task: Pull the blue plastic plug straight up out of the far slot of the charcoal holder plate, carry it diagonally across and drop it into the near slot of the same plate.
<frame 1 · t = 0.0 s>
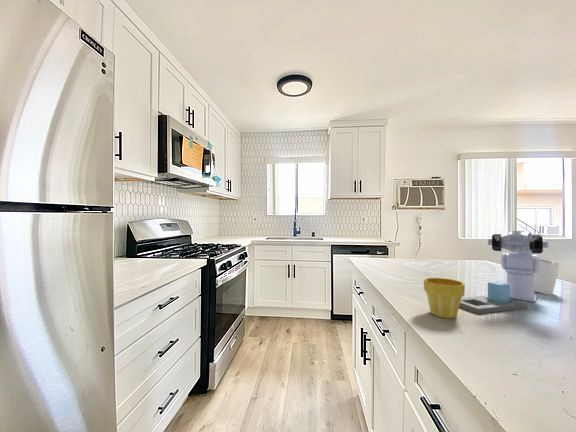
hand: (513, 244, 79), 20 cm above the counter, tool horizontal, fingers open, 7 cm apart
plant pot: (444, 314, 77), on the counter
holder plate: (487, 305, 84), on the counter
plug: (498, 304, 85), resting in holder plate
can: (540, 292, 100), on the counter, touching arm
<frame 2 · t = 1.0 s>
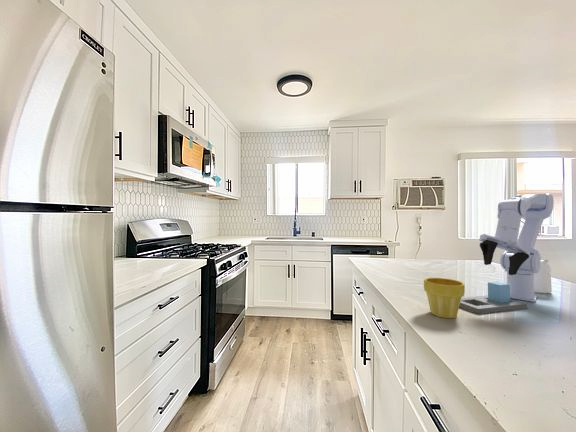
hand: (499, 269, 83), 12 cm above the counter, tool tilted 30°, fingers open, 7 cm apart
can: (539, 292, 100), on the counter
everything else where it was.
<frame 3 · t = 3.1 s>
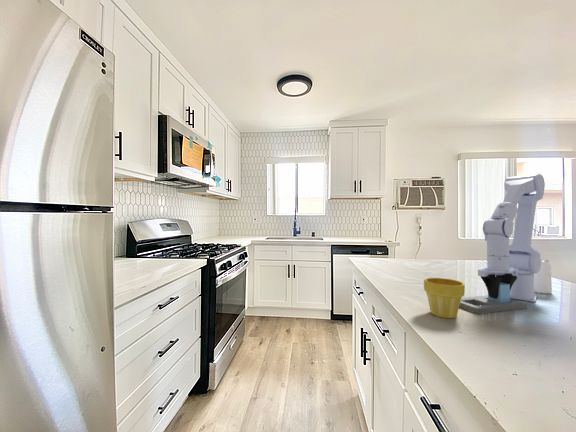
hand: (498, 297, 85), 2 cm above the counter, tool pointing down, fingers closed on plug, 4 cm apart
plug: (498, 304, 85), resting in holder plate, touching gripper
everything else where it was.
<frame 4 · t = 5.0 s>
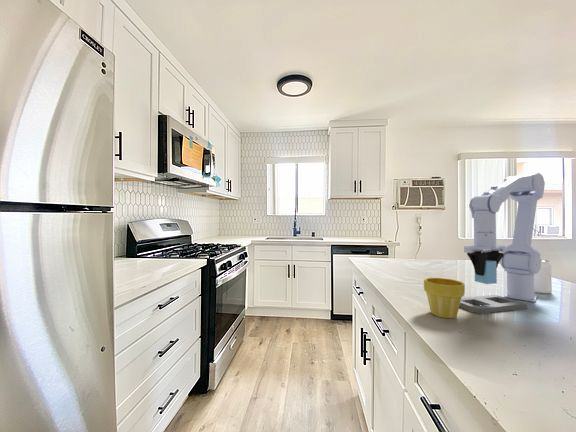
hand: (485, 274, 84), 10 cm above the counter, tool pointing down, fingers closed on plug, 4 cm apart
plug: (485, 282, 84), point 8 cm above the counter, touching gripper
everything else where it was.
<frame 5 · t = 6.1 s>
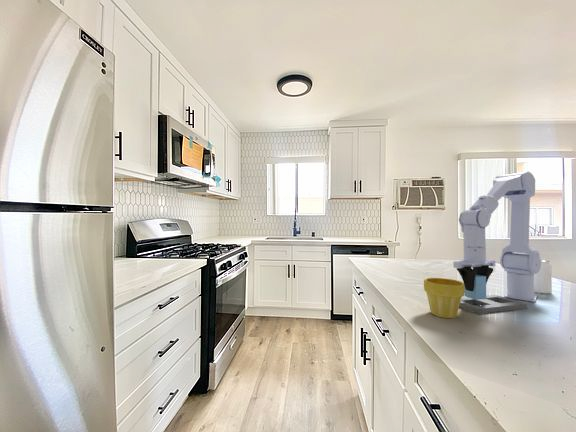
hand: (475, 289, 83), 5 cm above the counter, tool pointing down, fingers closed on plug, 4 cm apart
plug: (475, 297, 83), point 3 cm above the counter, touching gripper
everything else where it was.
when the fingers open (4 cm above the counter, at t = 6.9 s): plug drops 1 cm, resting in holder plate.
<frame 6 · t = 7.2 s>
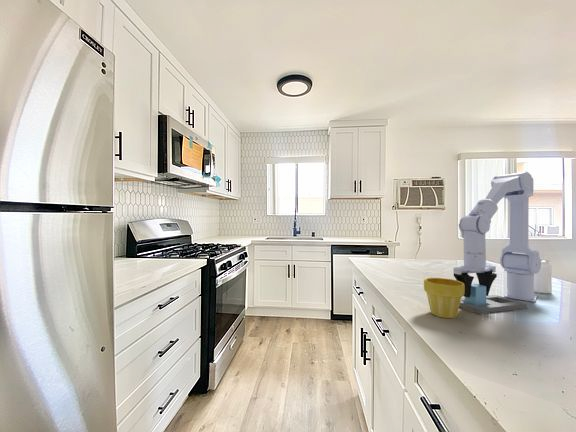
hand: (475, 295, 83), 4 cm above the counter, tool pointing down, fingers open, 7 cm apart
plug: (475, 307, 83), resting in holder plate
everything else where it was.
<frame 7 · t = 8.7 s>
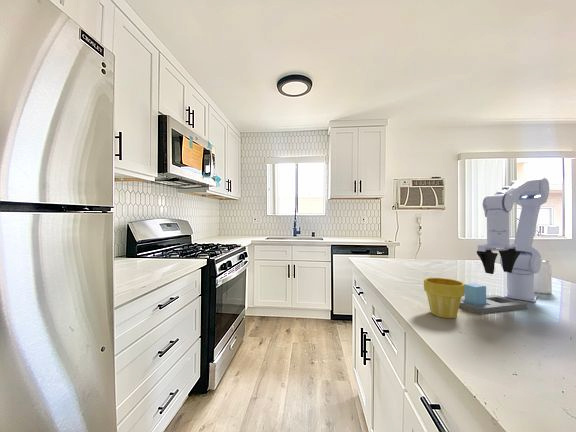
hand: (498, 272, 85), 10 cm above the counter, tool pointing down, fingers open, 7 cm apart
nothing on the counter moved.
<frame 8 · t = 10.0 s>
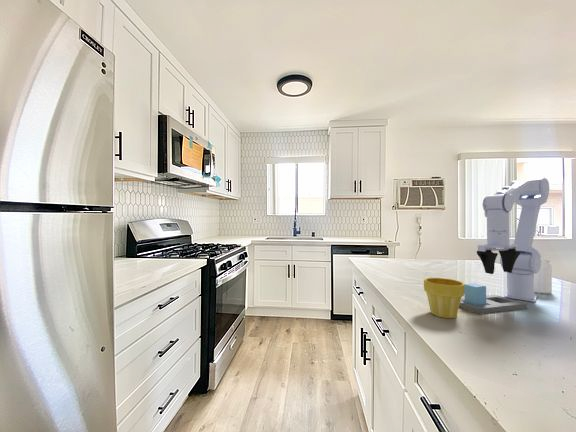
hand: (498, 272, 85), 10 cm above the counter, tool pointing down, fingers open, 7 cm apart
nothing on the counter moved.
at the end: plug 0.1 cm from the target spot, resting in holder plate; plug tilted 0°; the gripper is holding nothing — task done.
